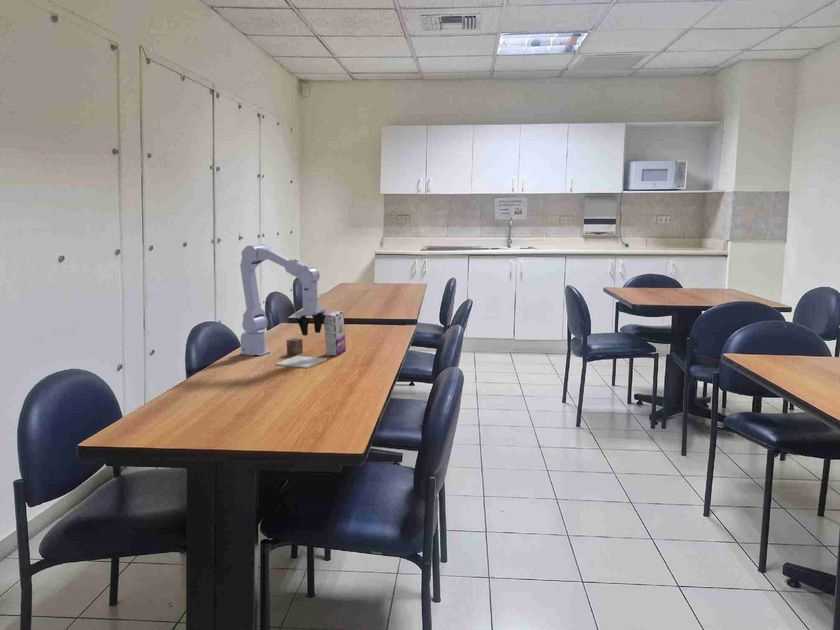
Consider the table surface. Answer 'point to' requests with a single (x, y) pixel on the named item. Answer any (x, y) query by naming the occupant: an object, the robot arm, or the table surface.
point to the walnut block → (294, 346)
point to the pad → (301, 361)
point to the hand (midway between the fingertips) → (311, 333)
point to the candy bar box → (334, 333)
